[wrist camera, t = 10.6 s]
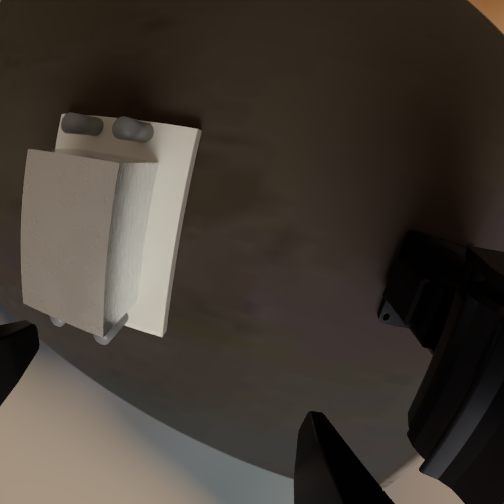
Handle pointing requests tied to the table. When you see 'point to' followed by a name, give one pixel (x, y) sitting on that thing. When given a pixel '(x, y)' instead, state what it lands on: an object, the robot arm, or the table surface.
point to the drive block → (84, 234)
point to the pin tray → (162, 204)
